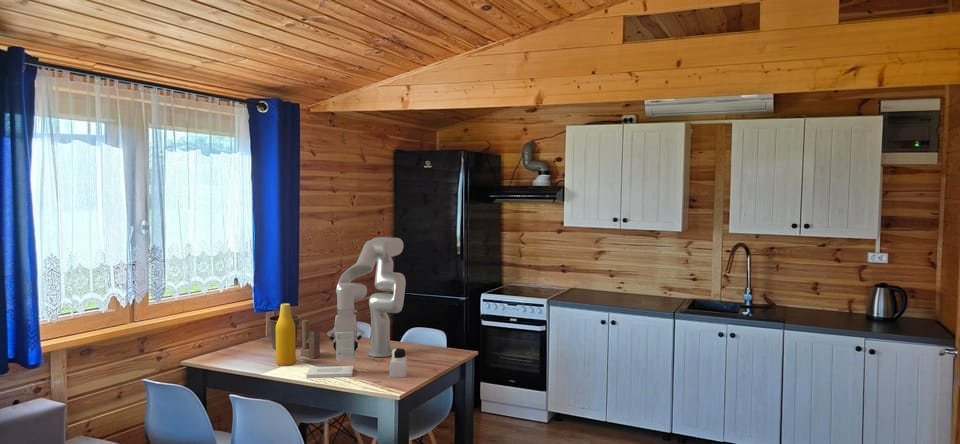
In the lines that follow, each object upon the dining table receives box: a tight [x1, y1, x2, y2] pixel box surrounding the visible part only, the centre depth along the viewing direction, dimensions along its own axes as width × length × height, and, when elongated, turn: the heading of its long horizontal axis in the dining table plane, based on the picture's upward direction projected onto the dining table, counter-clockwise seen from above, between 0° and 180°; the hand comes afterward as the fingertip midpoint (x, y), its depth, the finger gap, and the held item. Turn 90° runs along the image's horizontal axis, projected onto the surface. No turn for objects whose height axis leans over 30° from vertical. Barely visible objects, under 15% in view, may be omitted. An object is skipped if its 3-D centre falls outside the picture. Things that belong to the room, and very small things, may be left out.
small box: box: [335, 332, 356, 362], centre depth 298 cm, size 8×6×13 cm
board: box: [305, 365, 354, 379], centre depth 298 cm, size 20×12×2 cm, turn 97°
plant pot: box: [267, 314, 301, 350], centre depth 344 cm, size 16×16×16 cm
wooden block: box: [300, 319, 321, 359], centre depth 326 cm, size 4×11×18 cm, turn 54°
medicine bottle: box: [389, 348, 408, 378], centre depth 295 cm, size 7×7×12 cm
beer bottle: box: [275, 303, 297, 367], centre depth 313 cm, size 9×9×29 cm
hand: (345, 349), depth 298 cm, fingers closed on small box, 8 cm apart
